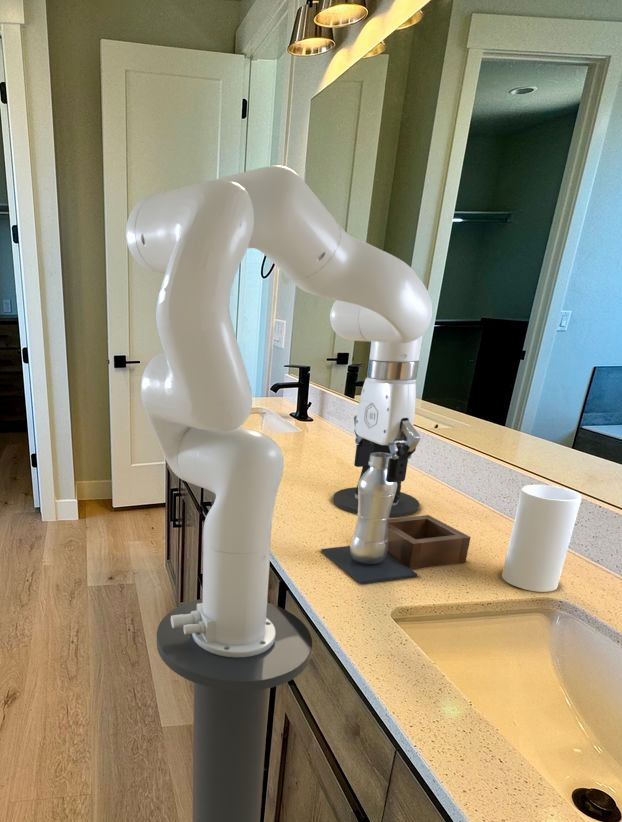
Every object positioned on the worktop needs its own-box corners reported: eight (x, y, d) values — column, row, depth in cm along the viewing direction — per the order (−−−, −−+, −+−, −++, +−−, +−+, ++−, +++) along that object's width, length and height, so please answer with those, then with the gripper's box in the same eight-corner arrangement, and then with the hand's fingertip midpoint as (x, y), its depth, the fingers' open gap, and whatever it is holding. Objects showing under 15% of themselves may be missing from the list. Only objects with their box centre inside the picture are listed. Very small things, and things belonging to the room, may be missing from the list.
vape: (410, 523, 123) (429, 407, 114) (323, 508, 133) (333, 400, 124) (424, 498, 139) (442, 394, 129) (345, 486, 148) (356, 388, 139)
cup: (547, 597, 93) (571, 504, 87) (493, 579, 99) (513, 491, 93) (564, 581, 98) (589, 492, 92) (513, 565, 104) (532, 481, 98)
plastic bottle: (340, 558, 106) (352, 453, 99) (367, 550, 109) (380, 448, 102) (366, 571, 101) (381, 461, 94) (394, 563, 104) (410, 456, 96)
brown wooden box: (409, 569, 103) (413, 543, 101) (372, 543, 114) (375, 520, 112) (465, 561, 105) (470, 537, 104) (424, 537, 116) (428, 514, 114)
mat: (360, 584, 98) (361, 581, 98) (321, 551, 111) (321, 548, 110) (417, 576, 100) (417, 573, 100) (372, 545, 113) (372, 543, 113)
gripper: (343, 367, 100) (333, 462, 106) (404, 379, 84) (388, 490, 90) (381, 365, 101) (369, 459, 107) (448, 377, 86) (429, 486, 92)
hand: (378, 473), depth 99 cm, fingers open, 9 cm apart
